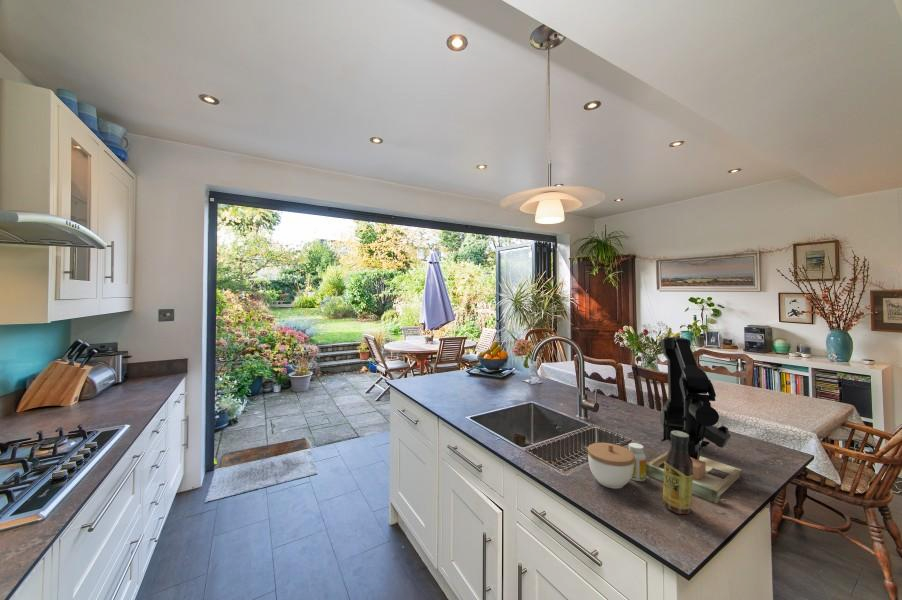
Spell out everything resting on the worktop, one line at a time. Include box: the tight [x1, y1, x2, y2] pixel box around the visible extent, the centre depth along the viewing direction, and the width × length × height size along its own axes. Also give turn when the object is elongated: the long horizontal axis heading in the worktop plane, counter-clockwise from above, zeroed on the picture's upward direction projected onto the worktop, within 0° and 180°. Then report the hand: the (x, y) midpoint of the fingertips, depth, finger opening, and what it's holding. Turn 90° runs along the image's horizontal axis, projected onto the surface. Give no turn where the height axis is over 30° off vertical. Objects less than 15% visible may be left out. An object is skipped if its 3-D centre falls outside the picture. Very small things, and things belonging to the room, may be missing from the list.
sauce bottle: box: [662, 431, 693, 515], centre depth 88 cm, size 7×6×20 cm
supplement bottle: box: [628, 442, 647, 482], centre depth 103 cm, size 5×5×10 cm
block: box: [690, 457, 706, 480], centre depth 104 cm, size 6×6×4 cm
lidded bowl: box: [587, 442, 635, 490], centre depth 101 cm, size 13×13×11 cm
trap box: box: [646, 450, 742, 504], centre depth 105 cm, size 18×25×3 cm
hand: (694, 464), depth 106 cm, fingers closed
